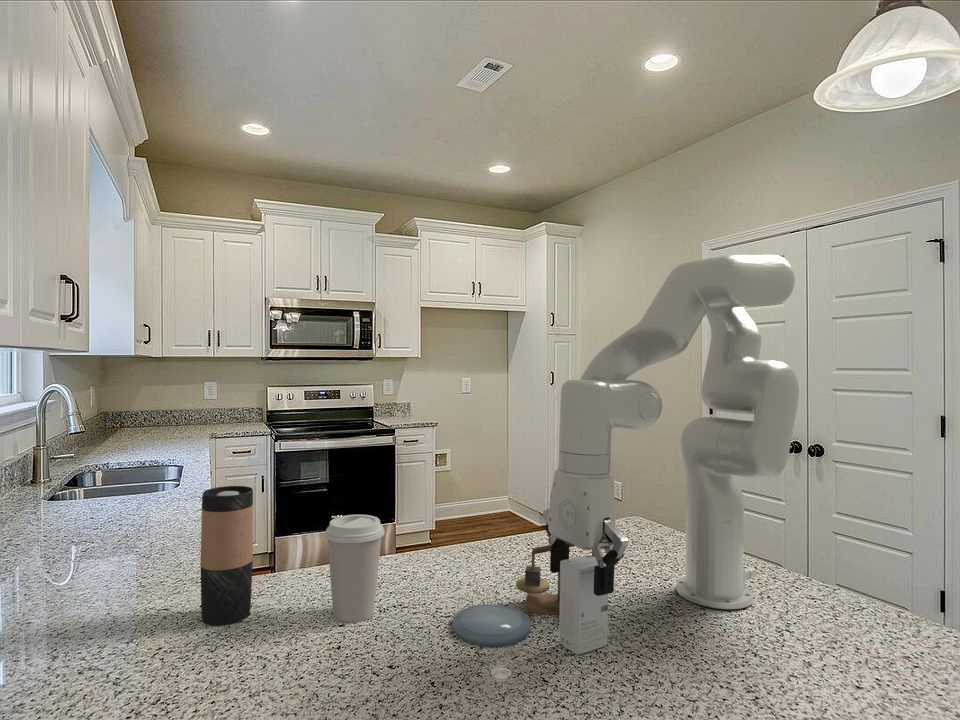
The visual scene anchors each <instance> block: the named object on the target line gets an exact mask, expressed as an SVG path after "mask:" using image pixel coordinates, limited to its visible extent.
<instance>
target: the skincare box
mask: <svg viewBox="0 0 960 720" xmlns="http://www.w3.org/2000/svg"><path fill="white" fill-rule="evenodd" d="M597 565H598V563H597V561H596V559H595V557H593V556H592V554H591V555H590V554H588V555H583V556H582V555H581V556H575V557H571V558H569V559H567V560H562V561H560V614H558V615H559V618H558V619H559V620H558V621H559V622H558V623H559V625H558V626H559V627H558V629H559V630H558V631H559V632H558V642H559V644H560V645H561V646H563V648H566V649H567V650H568V651H570V652H572V653H573V654H575V655H581V654H585V653H588V652H591V651H594V650H598V649H599V648H602V647H603V648H604V647H605V646H607V645H608V637H609V636H608V635H609V634H608V629H609V628H608V625H609V624H608V623H609V621H608V619H609V618H608V617H609V616H608V615H609V613H608V612H609V611H608V610H609V609H608V608H609V604H608V601H609V599H608V598H609V597H608V596H609V594H605V595H601V596H597V595H595V594H594V568H595V566H597Z"/></svg>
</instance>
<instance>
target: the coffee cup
mask: <svg viewBox="0 0 960 720" xmlns="http://www.w3.org/2000/svg"><path fill="white" fill-rule="evenodd" d="M384 535H385V528H384V526H383V525H382V523H381V520H380V518H379V517H377V516H373V515H370V514H369V515H368V514H347V515H341V516H337V517H335V518H333V519H331V520H330V521H329V525H328V526H327V528H326V530H325V531H324V538H325V539H326V541H327V546H328V547H327V549H328V562H329V563H328V565H329V575H330V576H329V577H330V586H331V587H330V590H331V600H332V601H331V603H332V615H333V618H334V620H336V619H337V620H336V621H338V620H339V622H341V621H344V622H343V623H359V622H363V621H366V620H368V619H369V618H371V617H373V615H374V614H375V609H376V608H375V606H376V597H377V585H378V575H379V574H378V573H379V565H380V554H381V545H382V537H384ZM358 621H359V622H358Z"/></svg>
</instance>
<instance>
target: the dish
mask: <svg viewBox="0 0 960 720" xmlns="http://www.w3.org/2000/svg"><path fill="white" fill-rule="evenodd" d="M452 631H453V633H454V635H456V637H458V638H459V639H460V640H462V641H464V642H466V643H468V644H469V643H470V644H472V645H476V646H482V647H504V646H510V645H513V644H517V643H520V642H522V641H523V640H525V639H527V637H528V636H529V634H530V633H531V620H530V618H529V616H528V615H527V614H526V613H525V612H523V611H522V610H520V609H518V608H515V607H512V606H509V605H504V604H503V605H502V604H496V603H494V604H493V603H491V604H490V603H487V604H486V603H485V604H476V605H472V606H471V605H470V606H467V607H465V608H463V609H461V610H460V611H458V612H457V613H456V614H455V615H454V616H453V619H452Z"/></svg>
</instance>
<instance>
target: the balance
mask: <svg viewBox="0 0 960 720" xmlns="http://www.w3.org/2000/svg"><path fill="white" fill-rule="evenodd" d="M566 543H567V542H566ZM566 543H565V544H566ZM568 544H569V543H568ZM551 546H552V545H550V544H548V545H543V546H538V547H533V548H531V550H532V551H531V565H526V566H525V573H524V577H520V578H519V579H517V580H516V582H515V583H516V584H515V586H516V588H517V590H518V591H521V592H523V593H526V600H525V604H524V605H525V606H524V607H525V608H524V609H525V612H527V613H537V614H539V613H540V614H549V615H560V572H557V594H556V593H546V592H548V591H549V590H550V582H549V581H548V580H547V579H544V578H541V569H542V568H541V566H535V565H536V564H535V557H536V555H538V554H543V553H548V552H551ZM572 547H575V546H574V545H571V544H569V548H572ZM591 556H593V557H595V556H594V554H593V552H592V551H591ZM525 612H524V613H525Z"/></svg>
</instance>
